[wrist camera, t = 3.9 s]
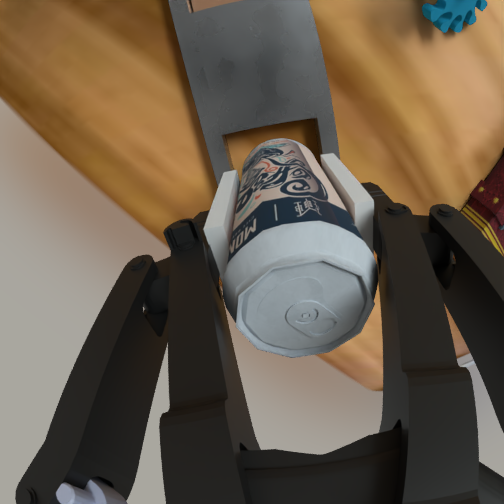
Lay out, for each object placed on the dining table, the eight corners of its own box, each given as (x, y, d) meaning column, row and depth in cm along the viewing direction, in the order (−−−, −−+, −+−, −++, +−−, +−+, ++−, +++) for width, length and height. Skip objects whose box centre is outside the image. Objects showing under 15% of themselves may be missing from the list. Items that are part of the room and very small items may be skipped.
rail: (156, -67, 9) (150, -73, 8) (269, -91, 8) (270, -100, 7) (240, 250, 25) (239, 260, 24) (342, 233, 24) (346, 242, 23)
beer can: (278, 120, 16) (314, 202, 6) (332, 172, 17) (414, 307, 7) (227, 175, 18) (185, 319, 8) (281, 220, 19) (298, 379, 10)
